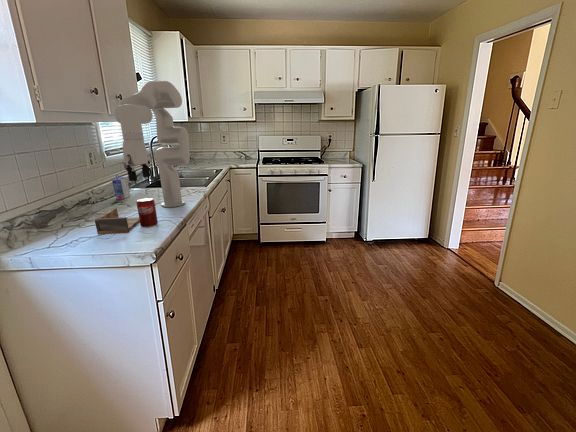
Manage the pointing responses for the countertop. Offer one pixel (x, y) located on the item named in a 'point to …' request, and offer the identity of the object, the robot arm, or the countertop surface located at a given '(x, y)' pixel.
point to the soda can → (147, 212)
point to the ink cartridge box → (121, 187)
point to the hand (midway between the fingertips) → (140, 178)
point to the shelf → (115, 223)
